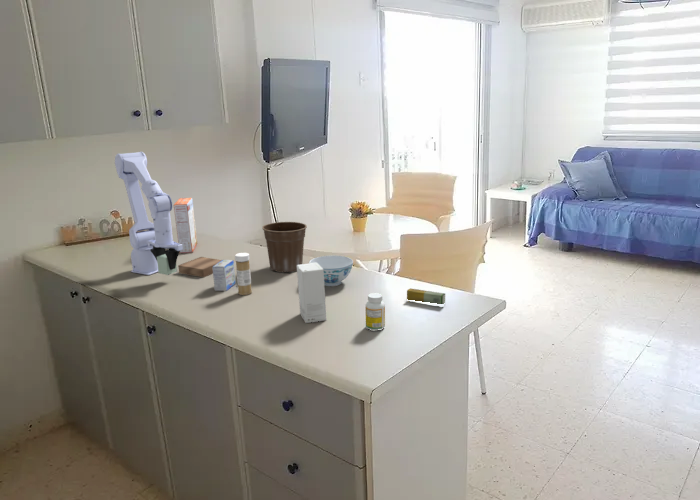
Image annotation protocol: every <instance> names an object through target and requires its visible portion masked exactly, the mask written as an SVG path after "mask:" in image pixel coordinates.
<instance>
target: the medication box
mask: <svg viewBox="0 0 700 500" xmlns="http://www.w3.org/2000/svg"><path fill="white" fill-rule="evenodd" d="M407 299H408V300H415V301H422V302H430V303H437V304H444V303H445V304H446V293H444V292H437V291H430V290H425V289H416V288H408V289H407V290H406V300H407Z"/></svg>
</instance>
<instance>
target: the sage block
mask: <svg viewBox="0 0 700 500" xmlns="http://www.w3.org/2000/svg"><path fill="white" fill-rule="evenodd" d="M157 263H158V272H157V273H158V274H160V275H165V276H168V275H172V274H174V273H176V272H178V269H177V268H178V267H177V266H178V265H177V264H176V267H175V269H172V270H170V268H169V264H168V259H167V256H166V254H164V255H161V256H158V257H157Z"/></svg>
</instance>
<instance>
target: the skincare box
mask: <svg viewBox="0 0 700 500" xmlns="http://www.w3.org/2000/svg"><path fill="white" fill-rule="evenodd" d="M296 276H297V289H298V300H299V313H300V316H301V318H302V319H303V321H304V322H305V324H311V322H312V323H317V322H318V321H319V322H323V321H327V307H326V306H327V305H326V291H325V289H326V288H325V285H324V270H323V268H322V267H321V266H320V265H319V264H318V263H317V262H316V263H309V262H308V263H302V264H300V265H297V270H296Z"/></svg>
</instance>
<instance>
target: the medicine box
mask: <svg viewBox="0 0 700 500" xmlns="http://www.w3.org/2000/svg"><path fill="white" fill-rule="evenodd" d="M221 260H222V261H220V262H219V263H217V264H216V265H215V266H213V267H212V268H213V274H212V276H213V284H214V291H217V292H228V291H229V290H230V289H231V288H232V287H234V285H235V284H236V273H235V261H234V260H233V259H221Z"/></svg>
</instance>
